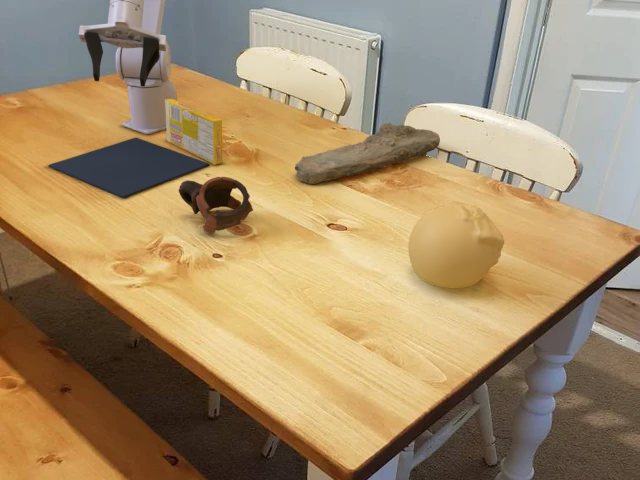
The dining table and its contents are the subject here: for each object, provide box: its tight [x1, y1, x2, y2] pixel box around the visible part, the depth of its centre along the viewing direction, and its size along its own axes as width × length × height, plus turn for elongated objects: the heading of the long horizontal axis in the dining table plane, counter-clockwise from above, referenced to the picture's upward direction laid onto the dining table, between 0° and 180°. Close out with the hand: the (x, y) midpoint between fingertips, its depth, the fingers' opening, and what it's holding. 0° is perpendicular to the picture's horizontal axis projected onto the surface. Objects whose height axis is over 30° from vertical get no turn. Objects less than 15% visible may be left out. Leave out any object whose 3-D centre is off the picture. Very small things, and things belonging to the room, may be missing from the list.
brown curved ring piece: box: [178, 176, 254, 236], centre depth 106 cm, size 12×10×8 cm
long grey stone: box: [294, 122, 441, 185], centre depth 130 cm, size 35×5×10 cm
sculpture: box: [407, 200, 505, 289], centre depth 94 cm, size 12×12×11 cm
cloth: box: [48, 137, 210, 199], centre depth 124 cm, size 20×20×1 cm
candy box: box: [165, 99, 223, 166], centre depth 130 cm, size 16×2×8 cm, turn 43°
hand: (119, 80), depth 118 cm, fingers open, 7 cm apart
